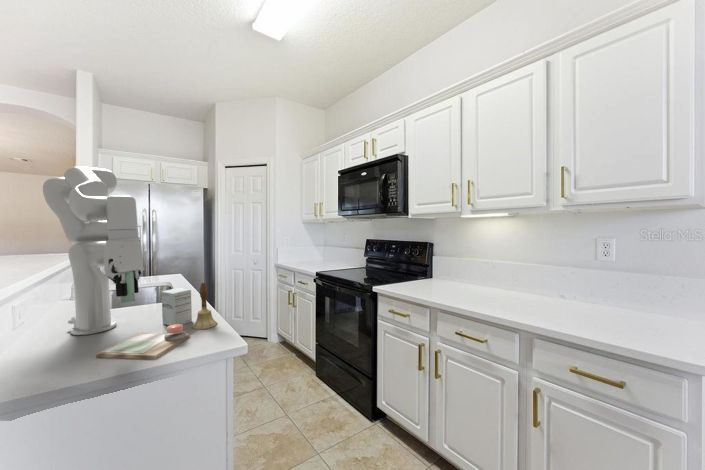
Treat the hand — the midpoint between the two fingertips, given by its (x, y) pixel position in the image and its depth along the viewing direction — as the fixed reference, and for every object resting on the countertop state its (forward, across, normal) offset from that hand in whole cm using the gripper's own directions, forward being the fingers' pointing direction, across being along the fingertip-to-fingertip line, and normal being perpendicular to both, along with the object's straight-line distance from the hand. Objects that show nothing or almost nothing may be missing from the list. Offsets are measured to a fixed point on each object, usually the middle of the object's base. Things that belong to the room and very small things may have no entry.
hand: (127, 293), depth 95 cm
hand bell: (+17, -19, +13) cm, 28 cm away
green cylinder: (+2, 0, 0) cm, 2 cm away
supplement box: (+16, -21, +1) cm, 26 cm away
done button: (+14, -5, +11) cm, 18 cm away
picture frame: (+17, 0, +5) cm, 17 cm away
